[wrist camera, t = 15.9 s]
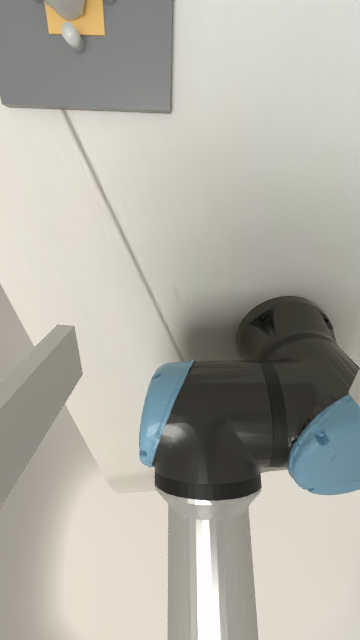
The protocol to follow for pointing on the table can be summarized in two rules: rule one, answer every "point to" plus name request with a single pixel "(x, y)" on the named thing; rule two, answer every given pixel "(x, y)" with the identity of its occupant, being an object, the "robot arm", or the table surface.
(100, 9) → the pin tray
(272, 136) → the table surface
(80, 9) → the photo printer
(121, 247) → the table surface
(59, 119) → the table surface
